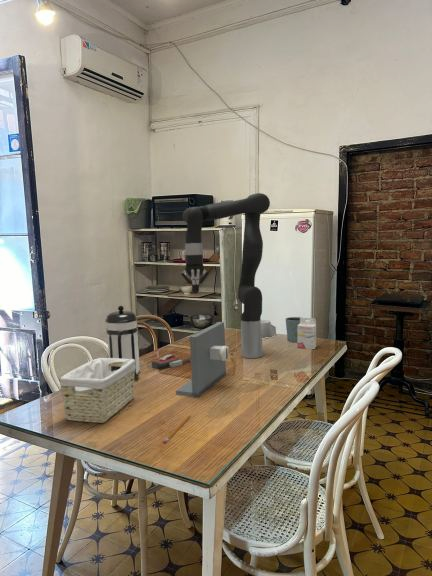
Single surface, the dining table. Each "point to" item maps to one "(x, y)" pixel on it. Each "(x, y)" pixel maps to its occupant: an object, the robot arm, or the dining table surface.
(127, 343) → the coffee press
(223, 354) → the knob
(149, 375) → the dining table surface
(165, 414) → the dining table surface
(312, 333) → the ink cartridge box
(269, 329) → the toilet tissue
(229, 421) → the dining table surface
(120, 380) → the storage basket
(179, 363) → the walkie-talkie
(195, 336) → the knob panel
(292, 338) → the grey-green cup
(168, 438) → the pencil
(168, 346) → the dining table surface
